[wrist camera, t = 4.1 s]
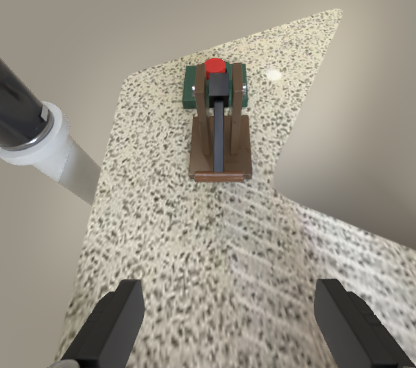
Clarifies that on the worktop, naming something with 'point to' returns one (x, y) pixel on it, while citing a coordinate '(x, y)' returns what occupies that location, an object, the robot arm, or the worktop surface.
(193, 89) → the bracket
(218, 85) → the lever
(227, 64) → the button box
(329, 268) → the worktop surface
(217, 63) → the button
